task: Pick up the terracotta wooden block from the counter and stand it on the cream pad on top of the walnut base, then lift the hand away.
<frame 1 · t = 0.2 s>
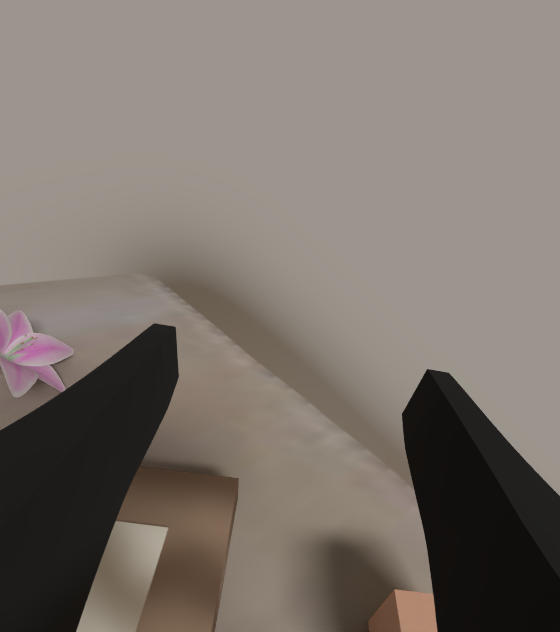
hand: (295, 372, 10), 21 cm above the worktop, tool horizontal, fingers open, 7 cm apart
walnut base: (110, 594, 22), on the worktop
lily: (31, 383, 36), on the worktop
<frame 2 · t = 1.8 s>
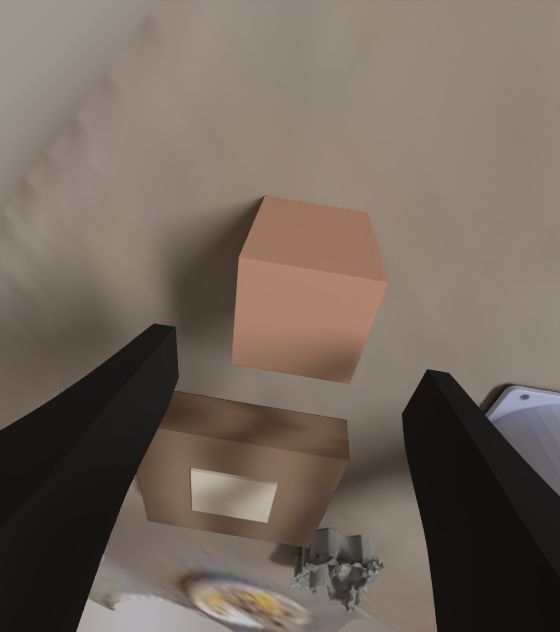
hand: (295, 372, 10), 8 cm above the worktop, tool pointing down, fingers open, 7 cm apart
egg carton: (332, 546, 37), on the worktop
walnut base: (240, 458, 28), on the worktop
terracotta block: (307, 250, 17), on the worktop
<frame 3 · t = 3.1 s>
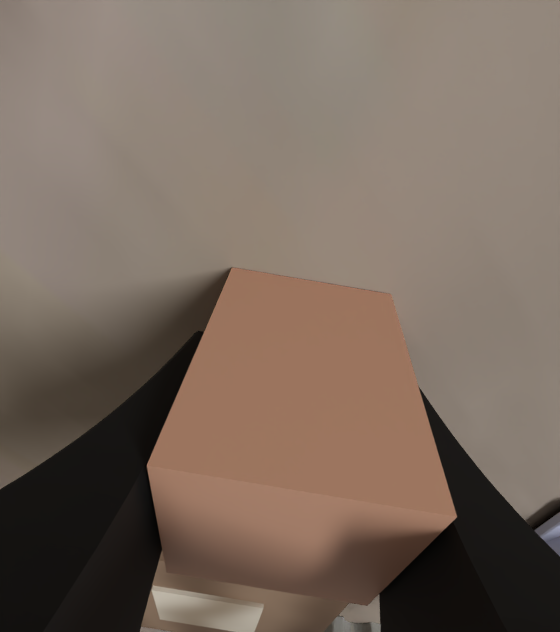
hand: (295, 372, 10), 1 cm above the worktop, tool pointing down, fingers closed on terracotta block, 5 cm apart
egg carton: (334, 625, 32), on the worktop
walnut base: (220, 551, 23), on the worktop
terracotta block: (298, 340, 11), on the worktop, touching gripper
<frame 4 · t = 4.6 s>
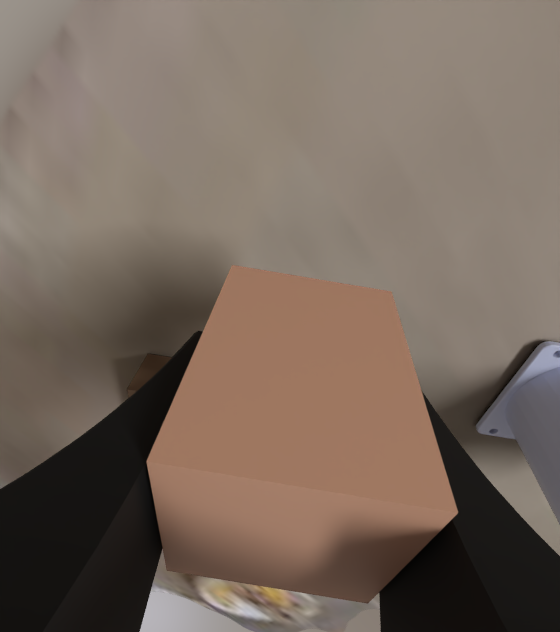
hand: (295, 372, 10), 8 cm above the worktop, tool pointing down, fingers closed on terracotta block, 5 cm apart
walnut base: (247, 434, 26), on the worktop
terracotta block: (298, 338, 11), point 7 cm above the worktop, touching gripper
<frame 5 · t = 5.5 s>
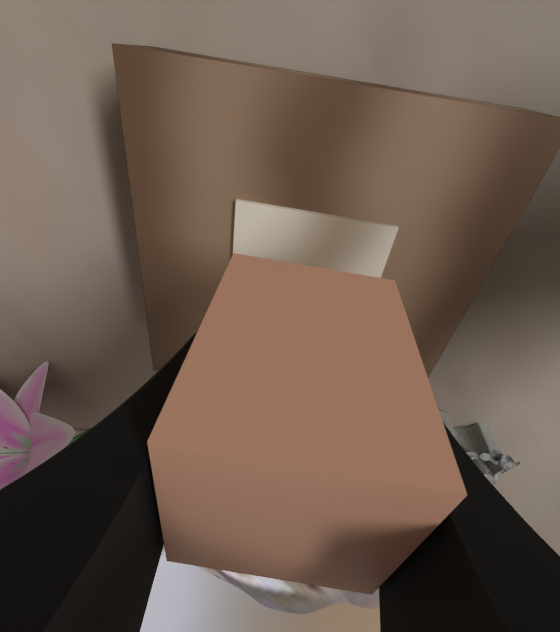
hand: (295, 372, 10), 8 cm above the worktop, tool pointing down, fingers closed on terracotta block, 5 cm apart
egg carton: (415, 449, 26), on the worktop
walnut base: (305, 250, 17), on the worktop
terracotta block: (300, 329, 11), point 7 cm above the worktop, touching gripper
lily: (54, 396, 27), on the worktop
when the fingers open (6 cm above the worktop, at t = 6.4 s): terracotta block drops 1 cm, resting on walnut base.
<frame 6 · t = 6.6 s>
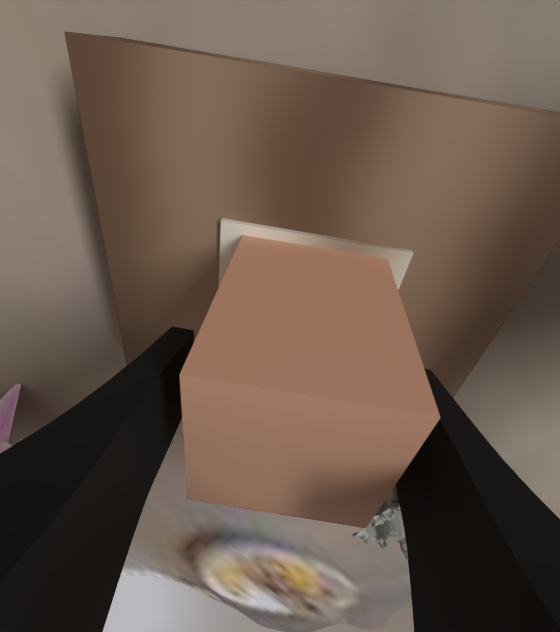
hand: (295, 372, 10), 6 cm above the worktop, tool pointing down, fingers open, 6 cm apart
egg carton: (423, 477, 24), on the worktop
walnut base: (304, 270, 15), on the worktop
terracotta block: (302, 305, 12), point 3 cm above the worktop, touching walnut base
lily: (30, 418, 24), on the worktop
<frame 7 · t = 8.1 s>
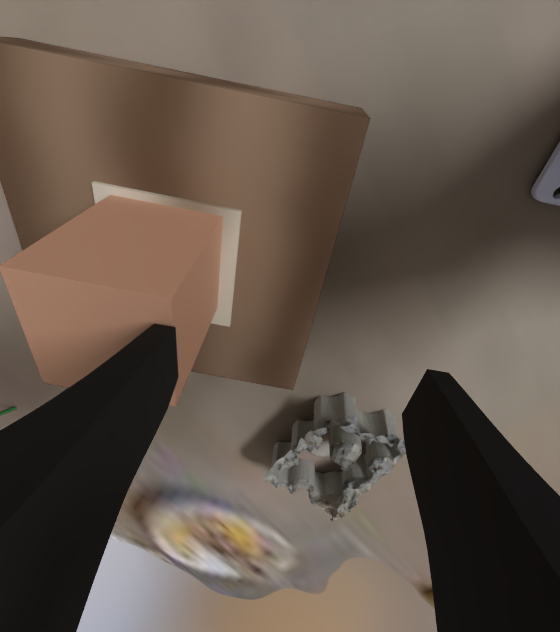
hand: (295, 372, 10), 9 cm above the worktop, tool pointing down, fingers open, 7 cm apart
egg carton: (330, 432, 28), on the worktop
walnut base: (190, 234, 18), on the worktop
terracotta block: (168, 256, 15), point 3 cm above the worktop, touching walnut base
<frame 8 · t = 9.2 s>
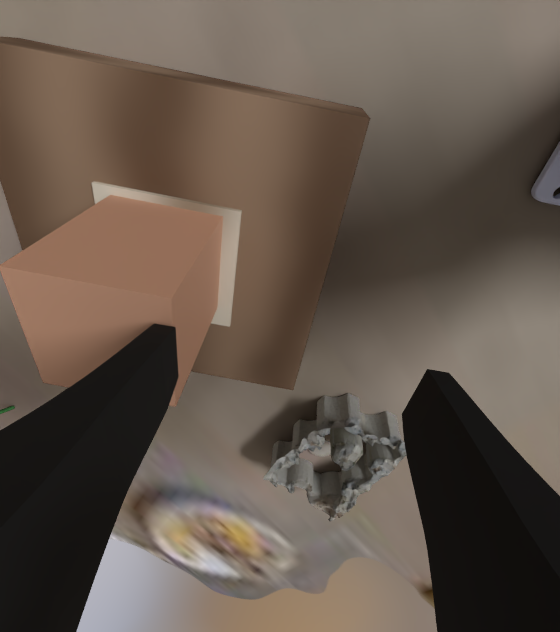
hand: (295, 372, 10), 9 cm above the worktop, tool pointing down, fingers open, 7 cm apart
egg carton: (330, 432, 28), on the worktop
walnut base: (190, 234, 18), on the worktop
terracotta block: (168, 256, 15), point 3 cm above the worktop, touching walnut base
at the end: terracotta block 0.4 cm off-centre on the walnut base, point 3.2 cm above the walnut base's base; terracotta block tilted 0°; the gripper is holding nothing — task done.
